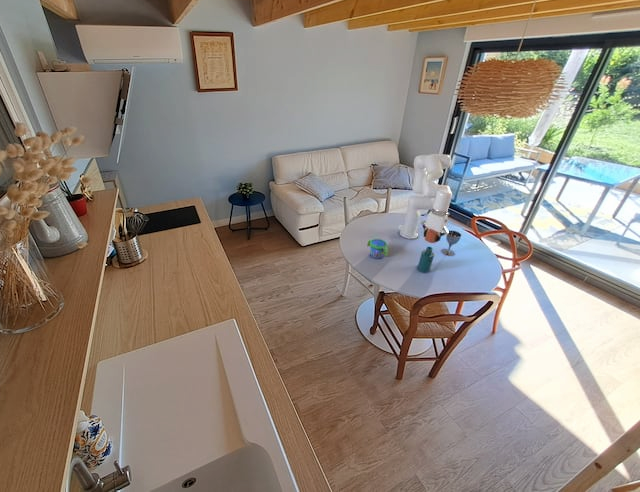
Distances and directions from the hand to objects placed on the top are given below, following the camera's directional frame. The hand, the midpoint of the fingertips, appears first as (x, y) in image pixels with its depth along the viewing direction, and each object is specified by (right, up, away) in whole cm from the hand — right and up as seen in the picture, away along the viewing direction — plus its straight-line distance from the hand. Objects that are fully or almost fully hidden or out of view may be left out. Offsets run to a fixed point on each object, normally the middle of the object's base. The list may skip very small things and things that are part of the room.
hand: (431, 238), depth 166 cm
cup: (0, -1, +1) cm, 1 cm away
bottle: (+1, -20, +11) cm, 23 cm away
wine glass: (+25, -11, +26) cm, 38 cm away
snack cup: (-24, -13, +24) cm, 37 cm away
